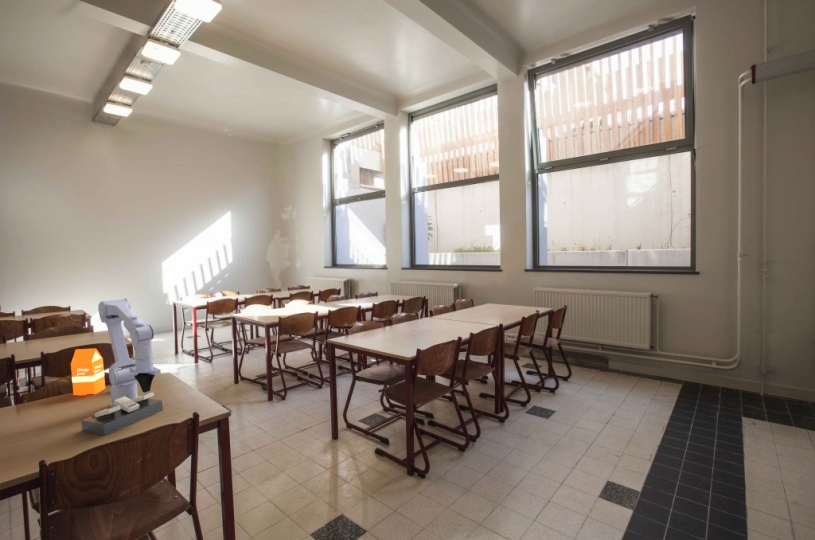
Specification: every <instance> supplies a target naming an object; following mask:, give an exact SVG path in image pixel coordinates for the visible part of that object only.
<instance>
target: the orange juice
mask: <svg viewBox="0 0 815 540" xmlns="http://www.w3.org/2000/svg"><path fill="white" fill-rule="evenodd" d="M70 370H71V383H72V390H73V391H72V393H73V396H74V395H78V396H88V395H87V394H94V395H96V394H99V393H100V392H101V391H104V390H105V389H106V384H105V383H106V381H105V369H104V358H103V356H102V355H101V353H100V352H99V350H98V349H97V348H82V349H81V348H80V349H79V348H78V349H75V351H74V354H73V357H72V360H71V363H70Z"/></svg>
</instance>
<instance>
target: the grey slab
mask: <svg viewBox="0 0 815 540" xmlns="http://www.w3.org/2000/svg"><path fill="white" fill-rule="evenodd" d="M136 403H137V404H139V409H136V410H134V411H131V412H129V413H128V412H126V411H125V410H123V409H119V410H117V411H114V412H112V413H109V414H106V415H102V416H99V417H95V414H94V415H91V416H88V417H86V418H83V419H81V422H80V423H81V429H82V430H81V431H82V432H86V433H91V434H94V435H95V434H96V435H101V436H104V437H105V436H108V435H110V434H112V433H114V432H117V431H119V430H121V429H123V428H125V427H128V426H130V425H132V424H134V423H137V422H139V421H141V420H143V419H146V418H148V417H150V416H153V415H155V414H157V413H159V412H161V411H163V410H164V409H163V400H162V399H155V398H151V397H149V398H147V399H144V400H141V401H138V402H136Z"/></svg>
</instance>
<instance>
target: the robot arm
mask: <svg viewBox="0 0 815 540" xmlns="http://www.w3.org/2000/svg"><path fill="white" fill-rule="evenodd" d="M97 311H98V315H99V319H100V322H101V323H104V324H105V325H106V327H107V331H108V335H109V340H110V345H111V348H112V352H113V353H112V354H113V357H114V363H113V364H112V365H110V367H109V368H108V373H109V374H108V376H109V382H110V385H112V386H111V388H110V403H111V404H109V407H113V406H116V405H115V404H114V400H116V399H119V398H122V397H124V396H125V397H127V398H129V399H130V400H131V399H133V398H136V397H139V395H138V386H137V384H138V385H139V386H140V388H141V391H142V393H145V394H147V393H149V392H150V391H151V389H152V383H153V380H154V378H155V376H159V375H161V374H162V372H161V371H162V370H161V368H157V367H155V366H154V360H153V358H154V357H153V346H152V345H153V344H152V340H153V339H154V338H155V337H154V336H155V333H154V332H155V331H154V328H153V326H152V325H151V324H145V323H144V322H143V321H142V319H141V318H140V317H139V316H137V315H133V312H132V311H131V301H130V300H129V299H128V298H122V299H114V300H113V299H112V300H100V302H99V304H98V309H97ZM122 322H123V323H122ZM122 324H123V326H122ZM123 327H124V328H125V330H126V331H128V333H129V337H130V340H131V345H132V347H133V353H134V357H135V360H132V359H130V358H129V356H130V355H129V350H128V346H127V343H126V338H125V334H124V329H123ZM127 366H130V367H127ZM123 367H126V368H123Z"/></svg>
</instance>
